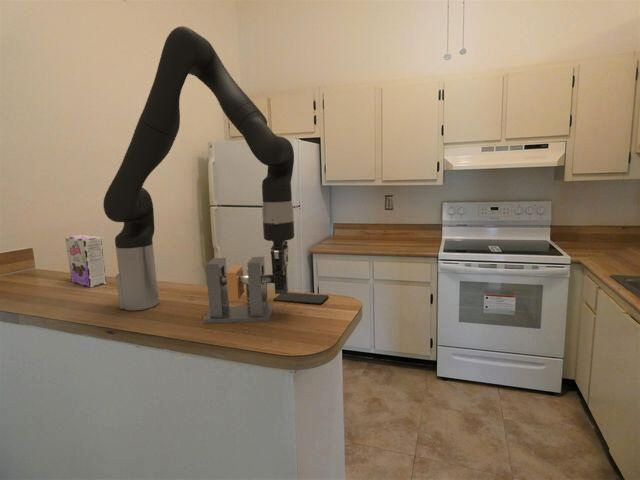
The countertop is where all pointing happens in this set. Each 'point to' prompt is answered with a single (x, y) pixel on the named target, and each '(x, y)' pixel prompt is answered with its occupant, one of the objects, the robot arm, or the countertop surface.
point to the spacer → (234, 283)
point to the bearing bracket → (219, 294)
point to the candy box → (86, 260)
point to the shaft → (263, 280)
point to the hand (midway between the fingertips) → (281, 285)
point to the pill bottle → (248, 291)
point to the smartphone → (302, 298)
